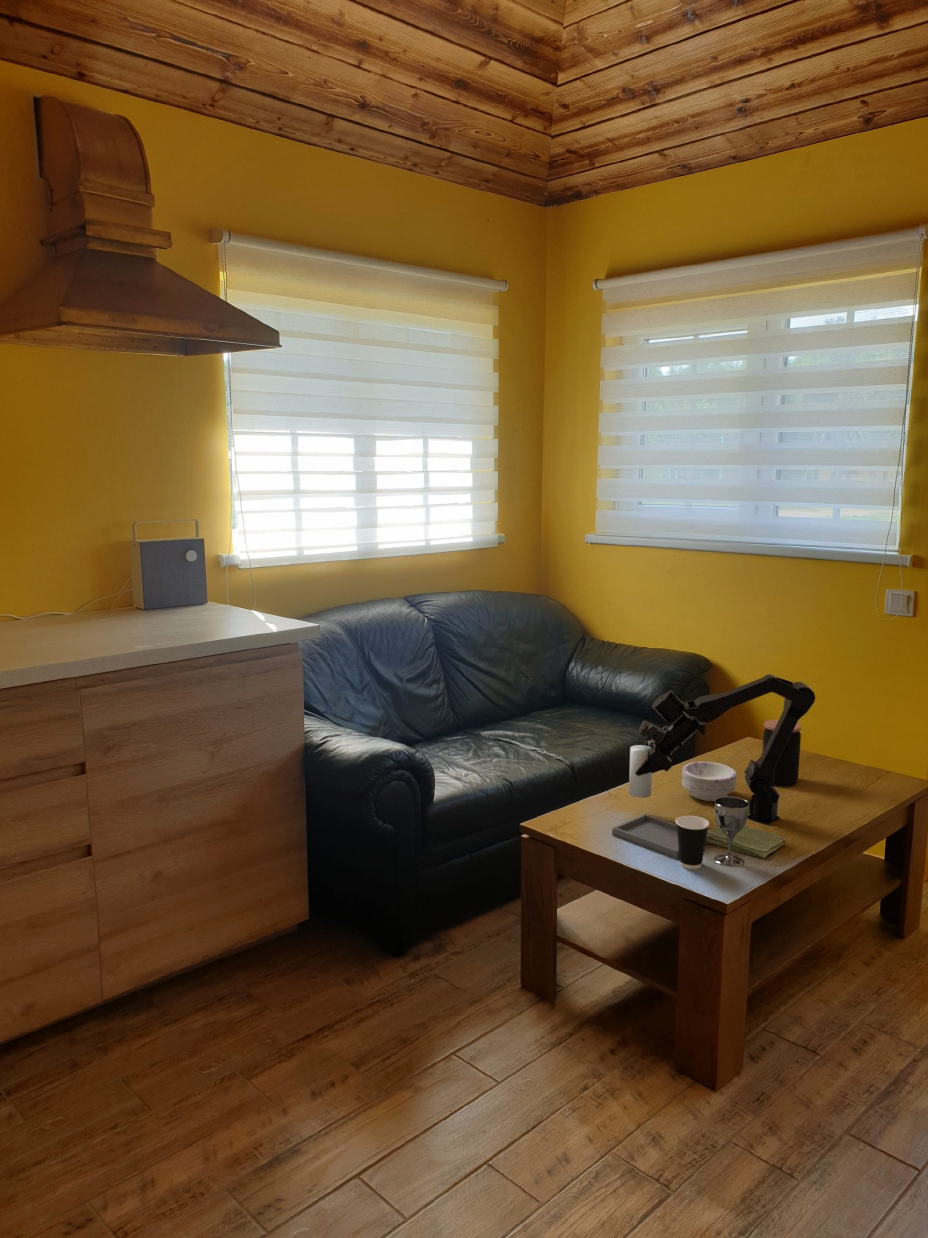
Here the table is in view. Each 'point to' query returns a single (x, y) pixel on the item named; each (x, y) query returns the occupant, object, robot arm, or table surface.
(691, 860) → the dixie cup
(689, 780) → the paper bowls
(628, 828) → the tray
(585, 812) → the table surface
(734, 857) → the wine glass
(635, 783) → the white cylinder
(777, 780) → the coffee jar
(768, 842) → the washcloth
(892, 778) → the table surface
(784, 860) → the table surface
